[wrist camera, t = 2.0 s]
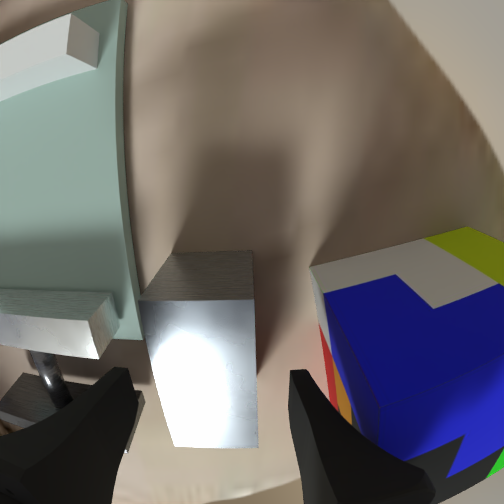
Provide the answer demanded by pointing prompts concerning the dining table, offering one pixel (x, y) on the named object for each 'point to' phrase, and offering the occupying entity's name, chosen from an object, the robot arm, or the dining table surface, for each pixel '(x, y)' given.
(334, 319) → the puzzle toy
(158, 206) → the dining table surface
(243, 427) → the steel block
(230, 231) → the dining table surface
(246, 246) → the dining table surface
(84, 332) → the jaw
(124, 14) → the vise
